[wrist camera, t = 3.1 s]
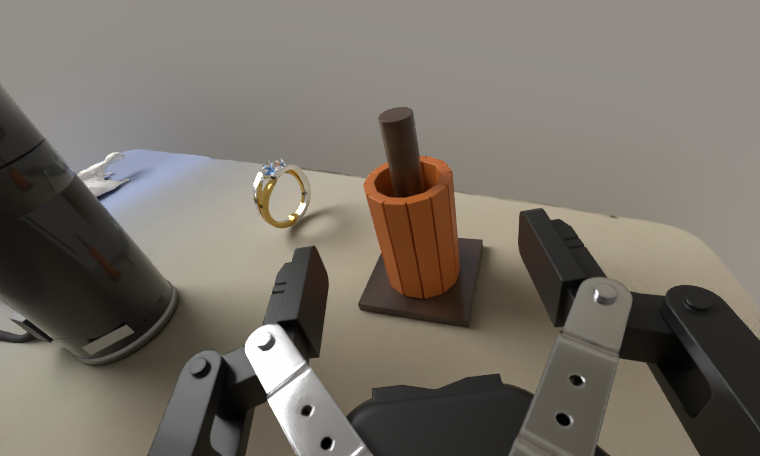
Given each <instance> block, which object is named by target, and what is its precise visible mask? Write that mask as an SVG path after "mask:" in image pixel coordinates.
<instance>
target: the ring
mask: <svg viewBox="0 0 760 456" xmlns="http://www.w3.org/2000/svg"><path fill="white" fill-rule="evenodd" d="M269 164H270V165H265V163H262V166H263V167H262V168H261V169H260V171H259V172H258V175H257V177H256V180H255V183H254V202H255V206H256V209H257V212H258V214H259V215H260V217H261V218H262V219H263V220H264V221H265V222H267V223H268V224H270V225H272V226H274V227H277V228H287V227H290V226H292V225H294V224H298V223H299V222H300V219H301V218H302V217H303V216H304V214H305V213H306V211H307V209H308V206H309V203H310V197H311V188H310V183H309V180H308V178H307V176H306V175H305V173H304V172H303V171H302V170H301V169H300V168H299V167H298V166H295V165H291V164H288V165H285V161H284V158H281V164H280V163H279V161H278V159H275V161H273V163H272V161H271V160H269ZM283 173H289V174H291V175H292V176H294V177H295V178H296V179H297V181H298V182H299V184H300V187H301V190H302V200H301V204H300V207H299V208H298V210H297V211H296V213H295V214H291V215H290V216H289V219H287V220H284V221H275V220H274V219H273V218H272V217H271V215H270V213H269V209H268V204H269V198H270V195H271V192H272V190H273V188H274V186H275V184H276V182H277V179H278V178H279V177H280V176H281V175H282V174H283ZM264 178H265V179H269V178H270V180H269V182H268V183H267V184H266V186H265V188H264V190H263V192H262V184H263V180H264Z"/></svg>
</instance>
